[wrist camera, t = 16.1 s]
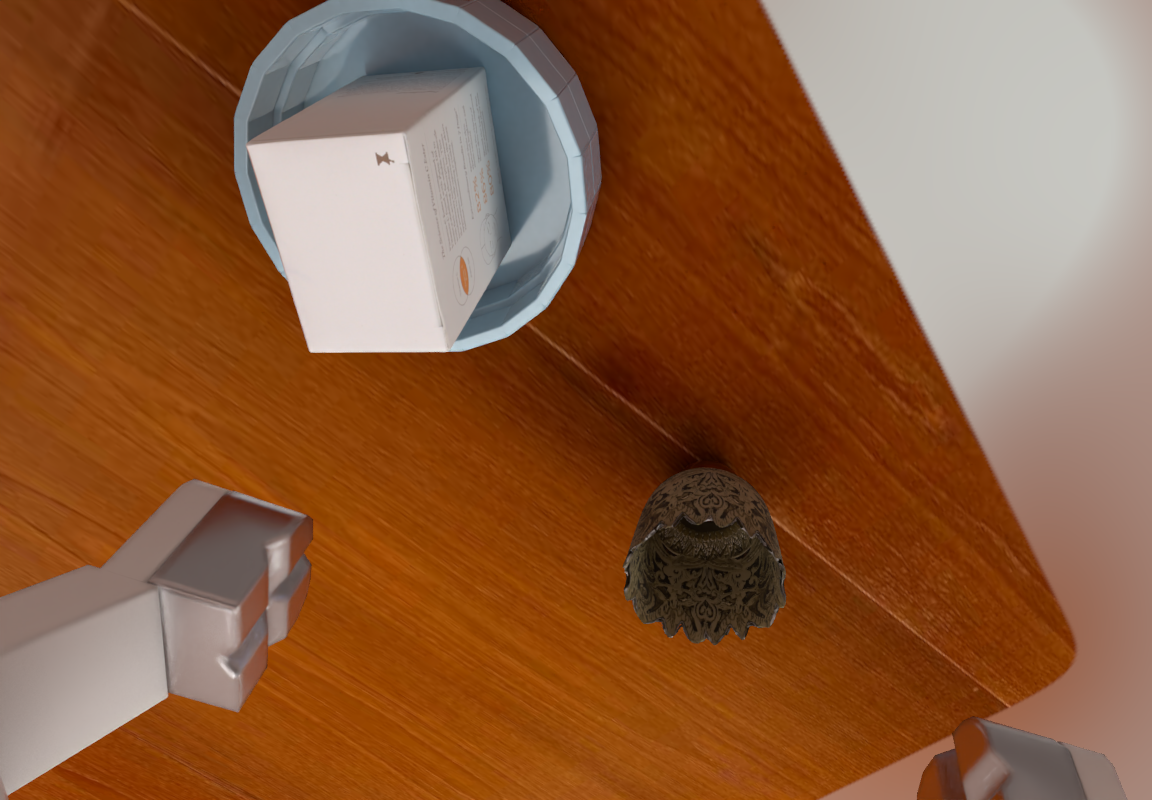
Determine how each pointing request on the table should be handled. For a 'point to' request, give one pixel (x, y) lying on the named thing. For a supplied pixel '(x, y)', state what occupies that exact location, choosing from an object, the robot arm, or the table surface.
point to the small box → (387, 209)
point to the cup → (705, 556)
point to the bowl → (519, 112)
